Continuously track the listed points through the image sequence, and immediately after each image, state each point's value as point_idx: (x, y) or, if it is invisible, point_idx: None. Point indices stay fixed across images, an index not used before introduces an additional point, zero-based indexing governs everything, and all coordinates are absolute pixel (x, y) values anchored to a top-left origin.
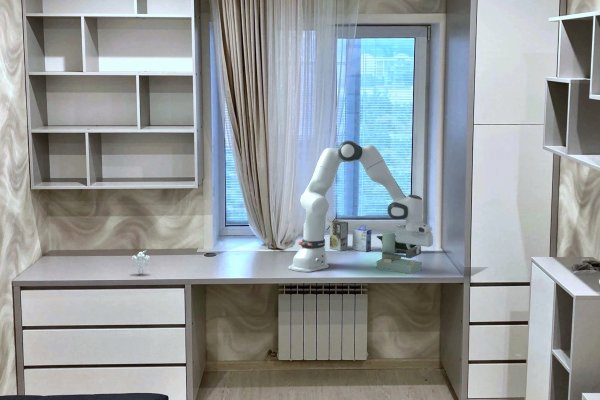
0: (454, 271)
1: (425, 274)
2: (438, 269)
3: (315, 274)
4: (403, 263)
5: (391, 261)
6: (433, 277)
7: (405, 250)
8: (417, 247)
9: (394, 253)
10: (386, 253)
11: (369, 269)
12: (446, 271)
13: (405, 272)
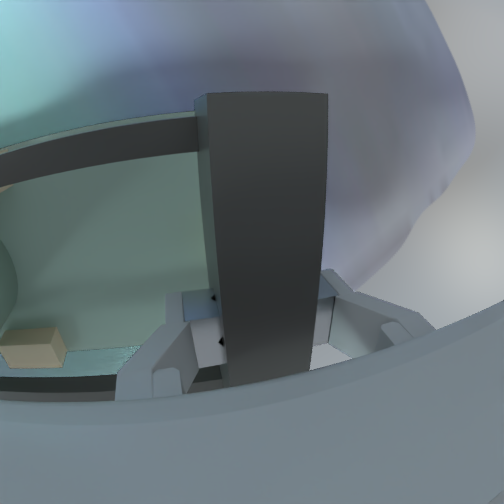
0: (438, 40)
1: (334, 223)
2: (349, 30)
3: None
4: (147, 292)
5: (57, 340)
6: (394, 249)
7: (9, 176)
8: (300, 233)
9: (59, 393)
10: (5, 398)
11: (3, 362)
12: (409, 60)
13: None
